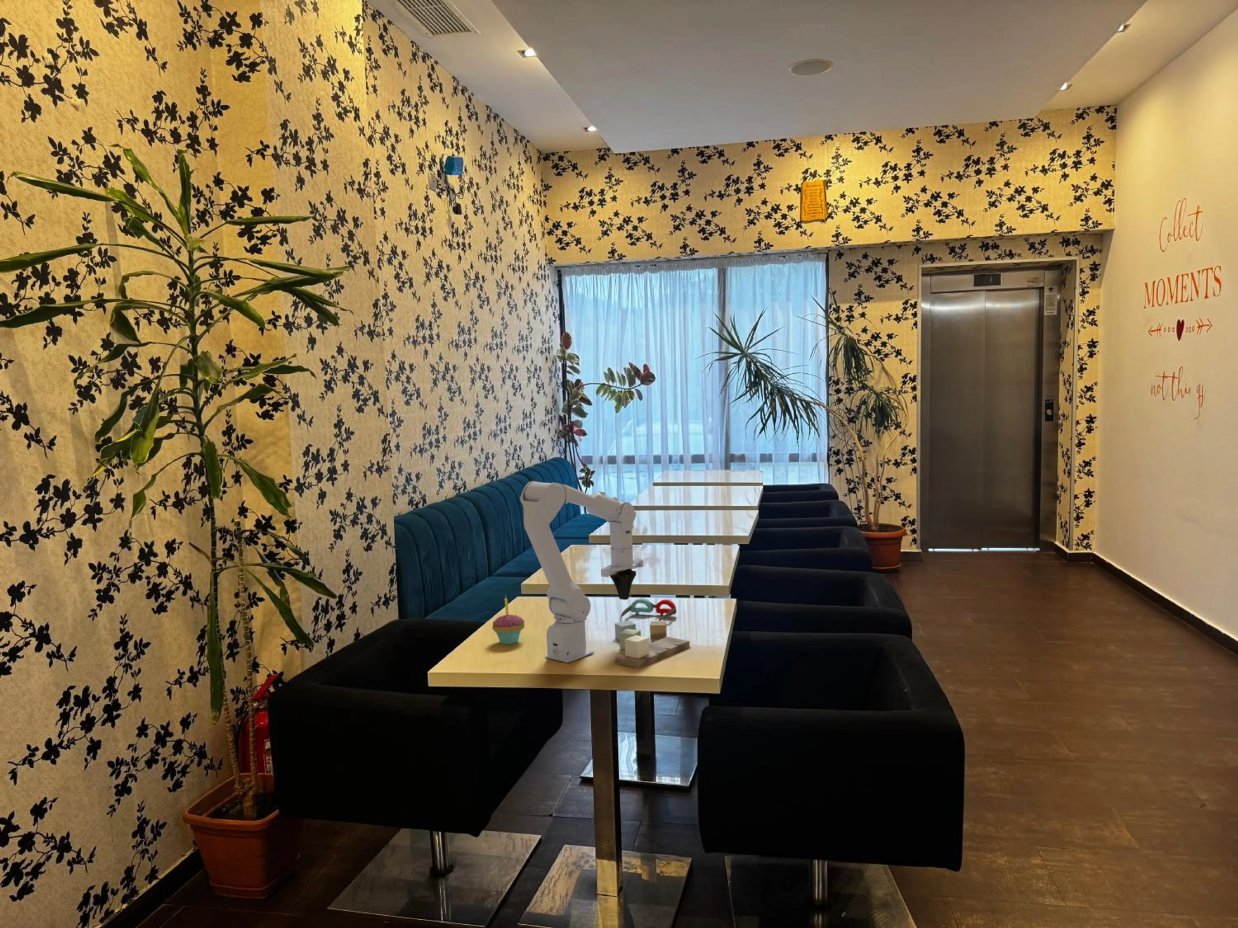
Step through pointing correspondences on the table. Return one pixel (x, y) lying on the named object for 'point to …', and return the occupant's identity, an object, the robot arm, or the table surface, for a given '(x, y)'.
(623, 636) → the sage block
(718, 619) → the table surface
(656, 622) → the oak block
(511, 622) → the cupcake
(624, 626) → the slate blue block
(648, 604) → the novelty glasses
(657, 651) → the board
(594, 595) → the table surface
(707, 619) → the table surface
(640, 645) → the slider
